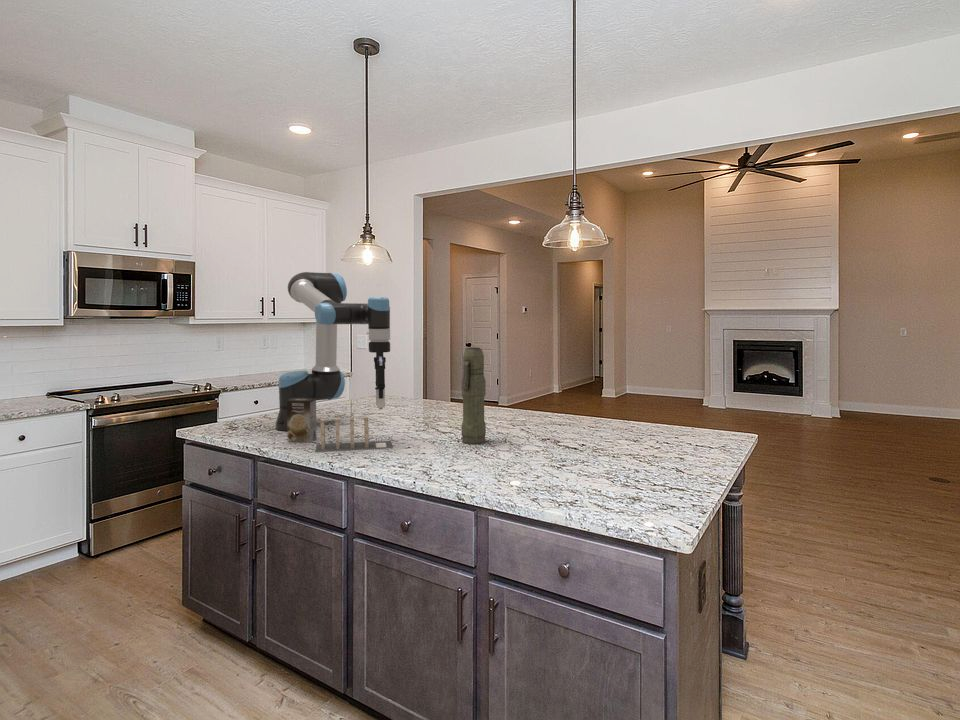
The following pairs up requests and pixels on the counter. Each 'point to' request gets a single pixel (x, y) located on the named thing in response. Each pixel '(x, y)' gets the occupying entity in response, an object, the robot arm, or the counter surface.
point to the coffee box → (301, 420)
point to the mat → (355, 446)
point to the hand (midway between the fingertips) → (380, 406)
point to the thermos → (473, 397)
